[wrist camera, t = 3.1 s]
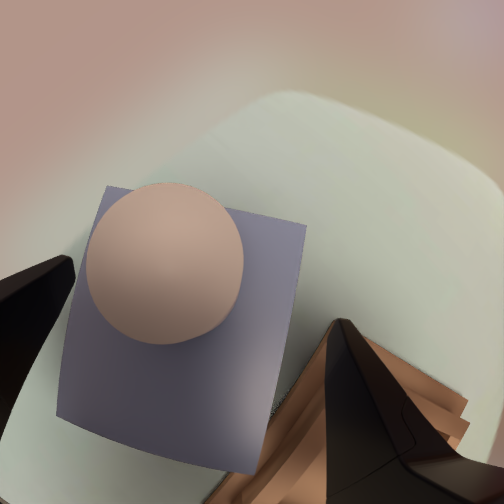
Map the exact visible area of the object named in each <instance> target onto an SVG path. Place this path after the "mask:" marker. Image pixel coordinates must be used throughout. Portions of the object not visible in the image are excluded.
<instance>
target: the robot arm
mask: <svg viewBox="0 0 504 504" xmlns="http://www.w3.org/2000/svg"><path fill="white" fill-rule="evenodd" d="M75 279H76V276H75V270H74V264H73V260H72V258H71V257H69V256H66V255H59V256H57V257H54V258H52V259H49V260H47V261H44V262H42V263H39V264H37V265H35V266H32V267H30V268H28V269H25V270H23V271H21V272H18V273H16V274H14V275H11V276H9V277H7V278H4V279H2V280H0V440H1V437H2V435H3V432H4V429H5V427H6V424H7V422H8V419H9V417H10V414H11V412H12V409H13V407H14V404H15V402H16V400H17V397H18V395H19V393H20V391H21V388H22V386H23V384H24V382H25V380H26V378H27V375H28V373H29V371H30V369H31V367H32V365H33V363H34V361H35V359H36V357H37V355H38V353H39V351H40V350H41V348H42V346H43V344H44V342H45V340H46V338H47V336H48V335H49V333H50V331H51V329H52V327H53V326H54V324H55V322H56V320H57V318H58V317H59V315H60V313H61V310H62V308H63V306H64V304H65V302H66V300H67V297H68V295H69V293H70V291H71V289H72V287H73V285H74V283H75ZM324 390H325V415H326V498H327V499H326V504H504V468H502V467H497V466H492V465H489V464H485V463H481V462H477V461H473V460H470V459H467V458H465V457H463V456H461V455H460V454H458V453H457V452H456V451H455V450H454V449H453V448H452V447H451V446H450V445H449V443H448V442H447V441H446V440H445V439H444V438H443V437H442V436H441V434H440V433H439V432H438V431H437V430H436V429H435V428H434V427H433V425H432V424H431V423H430V422H429V421H428V420H427V418H426V417H425V416H424V415H423V414H422V412H421V411H420V410H419V409H418V407H417V406H416V405H415V403H414V402H413V401H412V399H411V398H410V397H409V396H408V395H407V393H406V392H405V390H404V389H403V388H402V386H401V385H400V384H399V382H398V381H397V380H396V378H395V377H394V376H393V374H392V373H391V372H390V371H389V369H388V368H387V367H386V365H385V364H384V363H383V361H382V360H381V359H380V358H379V356H378V355H377V354H376V352H375V351H374V350H373V349H372V347H371V346H370V345H369V343H368V342H367V341H366V340H365V338H364V337H363V336H362V335H361V333H360V332H359V331H358V329H357V328H356V327H355V326H354V324H353V323H352V322H351V321H350V320H348V319H343V318H338V319H336V321H335V323H334V325H333V327H332V329H331V331H330V333H329V335H328V337H327V344H326V362H325V378H324ZM0 504H9V503H8V502H6V501H5V500H4V499H2V498H1V497H0Z"/></svg>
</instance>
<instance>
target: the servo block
mask: <svg viewBox="0 0 504 504" xmlns="http://www.w3.org/2000/svg"><path fill="white" fill-rule="evenodd" d="M306 227H307V225H303V224H299V223H294V222H290V221H286V220H281V219H277V218H272V217H267V216H263V215H258V214H254V213H249V212H244V211H239V210H235V209H230V208H225V207H223V206H222V205H221V204H220V203H219V202H218V201H217V200H215V199H214V198H213V197H211V196H210V195H208V194H207V193H205V192H203V191H201V190H199V189H197V188H194V187H191V186H188V185H184V184H177V183H158V184H152V185H148V186H144V187H141V188H139V189H136V190H129V189H124V188H117V187H112V186H107V187H106V190H105V193H104V195H103V198H102V200H101V203H100V206H99V209H98V212H97V215H96V218H95V221H94V224H93V227H92V230H91V233H90V236H89V240H88V243H87V246H86V250H85V253H84V257H83V260H82V264H81V268H80V271H79V275H78V279H77V283H76V287H75V292H74V296H73V300H72V305H71V310H70V315H69V320H68V325H67V330H66V336H65V342H64V348H63V355H62V362H61V369H60V378H59V387H58V398H57V411H56V416H58V417H60V418H62V419H64V420H66V421H68V422H70V423H72V424H74V425H76V426H79V427H81V428H83V429H86V430H88V431H90V432H93V433H95V434H97V435H100V436H102V437H105V438H107V439H110V440H113V441H115V442H118V443H121V444H124V445H127V446H129V447H132V448H135V449H138V450H141V451H145V452H148V453H151V454H154V455H158V456H161V457H165V458H169V459H172V460H176V461H180V462H184V463H188V464H192V465H197V466H202V467H206V468H211V469H216V470H222V471H228V472H234V473H240V474H247V475H255V472H256V468H257V464H258V460H259V457H260V453H261V449H262V445H263V441H264V437H265V433H266V429H267V425H268V421H269V416H270V412H271V408H272V404H273V399H274V395H275V391H276V386H277V382H278V377H279V372H280V368H281V363H282V358H283V354H284V349H285V344H286V339H287V334H288V329H289V324H290V319H291V314H292V308H293V303H294V298H295V292H296V287H297V281H298V275H299V270H300V264H301V258H302V252H303V246H304V240H305V233H306Z"/></svg>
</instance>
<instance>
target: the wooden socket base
mask: <svg viewBox="0 0 504 504" xmlns="http://www.w3.org/2000/svg"><path fill="white" fill-rule="evenodd" d="M334 323H335V321H333V322H332V324H331V326H330V328H329V329H328V331H327V333H326V334H325V336H324V338H323V339H322V341H321V343H320V345H319V346H318V348H317V349H316V351H315V353H314V354H313V356H312V358H311V359H310V361H309V362H308V364H307V366H306V367H305V369H304V370H303V372H302V374H301V375H300V377H299V378H298V380H297V381H296V383H295V384H294V386H293V387H292V389H291V390H290V392H289V393H288V395H287V396H286V398H285V399H284V401H283V402H282V404H281V405H280V407H279V408H278V409H277V411H276V412H275V414H274V415H273V417H272V418H271V419H270V421H269V422H268V425H267V429H266V433H265V437H264V441H263V445H262V449H261V453H260V457H259V460H258V464H257V468H256V472H255V475H247V474H240V473H234V472H230V473H229V475H228V476H227V477H226V478H225V479H224V481H223V482H222V483H221V484H220V485H219V487H218V488H217V489H216V490H215V491H214V492H213V494H212V495H211V496H210V497H209V498H208V499H207V501H206V502H205V503H204V504H326V499H327V498H326V415H325V390H324V378H325V362H326V344H327V337H328V335H329V333H330V331H331V329H332V327H333V325H334ZM363 337H364V336H363ZM364 338H365V340H366V341H367V342H368V343H369V345H370V346H371V347H372V349H373V350H374V351H375V352H376V354H377V355H378V356H379V358H380V359H381V360H382V361H383V363H384V364H385V365H386V367H387V368H388V369H389V371H390V372H391V373H392V374H393V376H394V377H395V378H396V380H397V381H398V382H399V384H400V385H401V386H402V388H403V389H404V390H405V392H406V393H407V395H408V396H409V397H410V398H411V399H412V401H413V402H414V403H415V405H416V406H417V407H418V409H419V410H420V411H421V412H422V414H423V415H424V416H425V417H426V418H427V420H428V421H429V422H430V423H431V424H432V425H433V427H434V428H435V429H436V430H437V431H438V432H439V433H440V434H441V436H442V437H443V438H444V439H445V440H446V441H447V442H448V443H449V445H450V446H451V447H452V448H453V449H454V450H456V448H457V446H458V445H459V443H460V441H461V439H462V438H463V436H464V434H465V432H466V430H467V428H468V426H469V425H470V423H469V422H467V421H466V420H464V419H462V418H460V416H461V414H462V412H463V410H464V408H465V406H466V404H467V402H468V400H467V399H465V398H463V397H462V396H460V395H459V394H457V393H455V392H454V391H452V390H450V389H449V388H447V387H445V386H444V385H442V384H440V383H439V382H437V381H435V380H434V379H432V378H431V377H429V376H427V375H426V374H424V373H422V372H421V371H419V370H417V369H416V368H414V367H413V366H411V365H409V364H408V363H406V362H404V361H403V360H401V359H400V358H398V357H396V356H395V355H393V354H391V353H390V352H388V351H387V350H385V349H383V348H382V347H380V346H378V345H377V344H375V343H374V342H372V341H370V340H369V339H367V338H366V337H364Z"/></svg>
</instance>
